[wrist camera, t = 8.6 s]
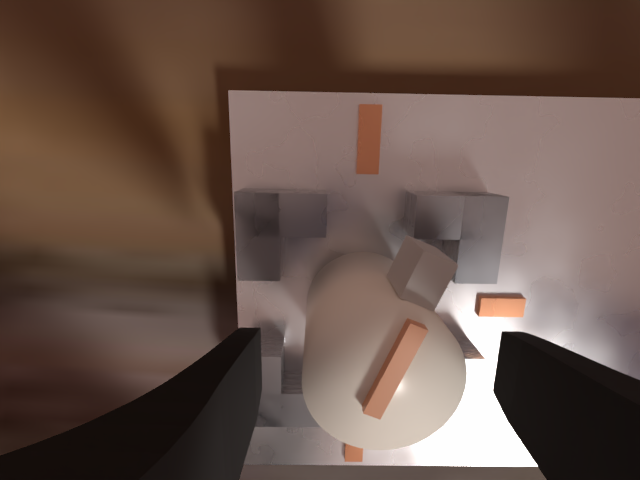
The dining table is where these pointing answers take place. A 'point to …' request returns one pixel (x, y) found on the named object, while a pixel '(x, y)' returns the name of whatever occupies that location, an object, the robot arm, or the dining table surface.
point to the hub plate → (437, 240)
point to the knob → (382, 348)
